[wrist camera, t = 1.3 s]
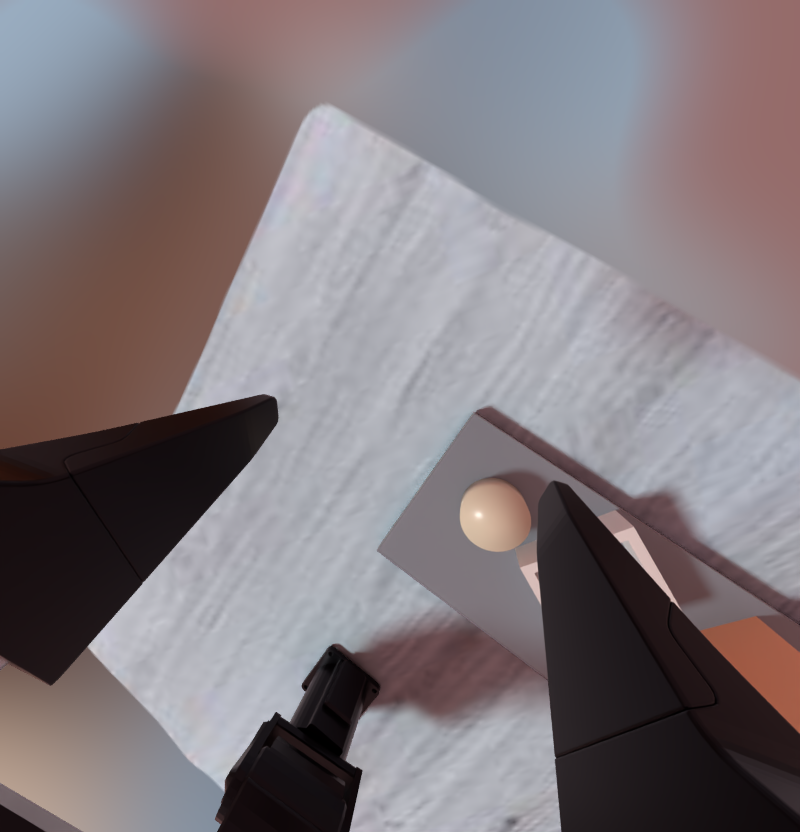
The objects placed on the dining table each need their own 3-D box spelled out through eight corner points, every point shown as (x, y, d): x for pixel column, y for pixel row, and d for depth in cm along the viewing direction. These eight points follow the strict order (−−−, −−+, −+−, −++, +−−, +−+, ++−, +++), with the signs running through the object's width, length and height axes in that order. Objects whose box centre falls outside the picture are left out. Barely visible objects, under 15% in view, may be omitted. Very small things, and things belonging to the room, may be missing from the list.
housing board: (659, 755, 24) (690, 817, 21) (380, 544, 27) (367, 568, 24) (816, 636, 20) (885, 687, 17) (473, 411, 24) (474, 417, 20)
